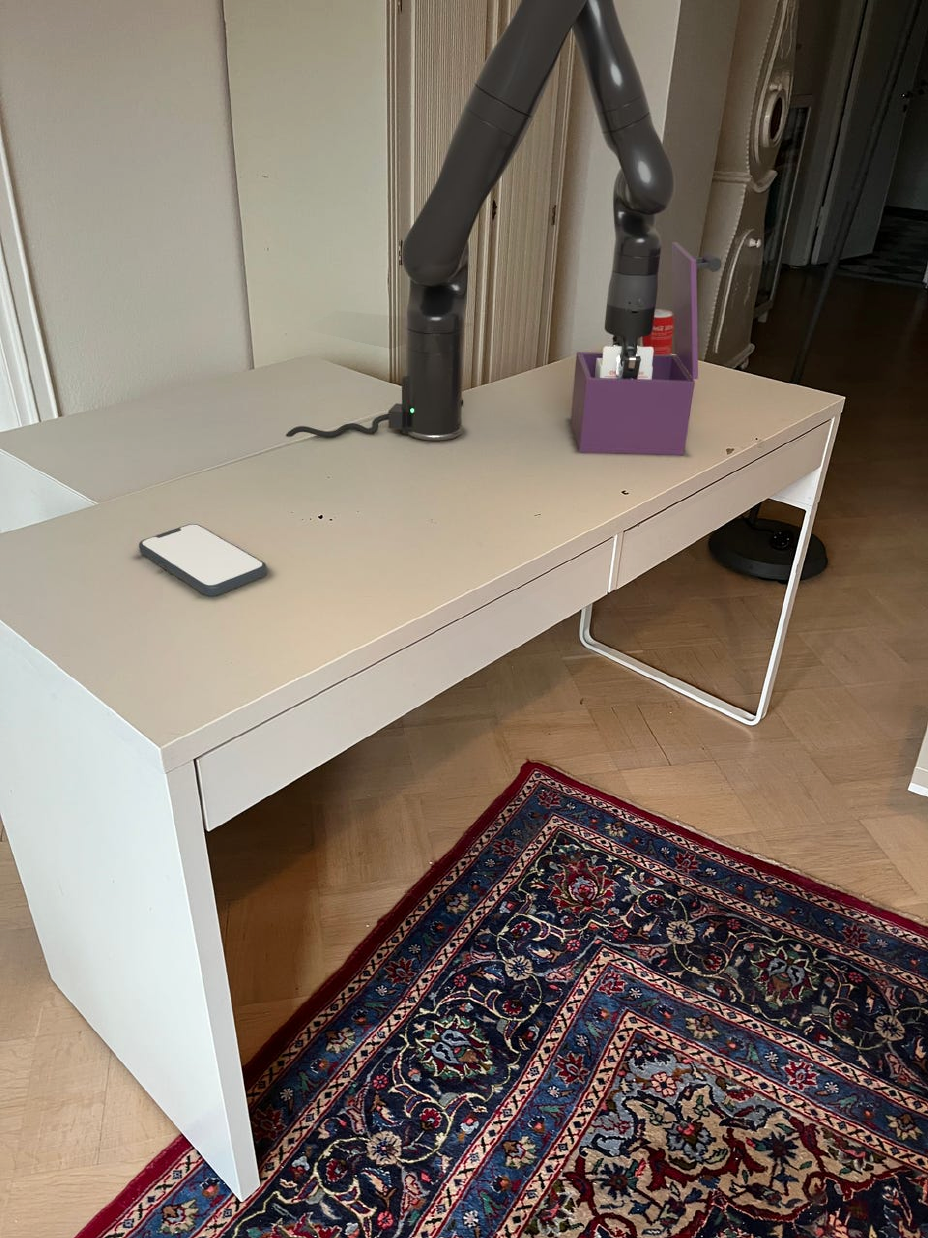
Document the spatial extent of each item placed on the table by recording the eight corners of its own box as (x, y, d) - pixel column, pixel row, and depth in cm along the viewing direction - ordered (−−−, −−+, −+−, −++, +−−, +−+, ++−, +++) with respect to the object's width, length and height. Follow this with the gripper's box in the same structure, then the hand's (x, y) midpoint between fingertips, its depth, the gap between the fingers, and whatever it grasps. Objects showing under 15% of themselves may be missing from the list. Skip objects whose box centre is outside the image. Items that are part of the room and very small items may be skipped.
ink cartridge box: (639, 426, 162) (650, 339, 154) (645, 437, 158) (656, 347, 150) (589, 426, 161) (597, 338, 154) (593, 436, 157) (602, 346, 150)
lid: (690, 260, 138) (729, 254, 138) (671, 242, 151) (707, 236, 151) (692, 379, 147) (729, 374, 147) (674, 352, 160) (708, 347, 160)
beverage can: (671, 391, 182) (682, 310, 175) (658, 399, 178) (669, 317, 170) (642, 385, 185) (652, 305, 177) (628, 393, 180) (638, 312, 173)
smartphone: (272, 576, 115) (197, 531, 125) (271, 564, 115) (195, 520, 124) (209, 601, 110) (135, 553, 119) (208, 589, 109) (133, 541, 118)
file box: (579, 452, 153) (586, 378, 147) (570, 420, 166) (576, 351, 160) (683, 455, 154) (695, 382, 147) (666, 422, 167) (676, 354, 161)
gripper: (601, 290, 155) (591, 393, 163) (613, 311, 142) (602, 421, 151) (648, 292, 155) (635, 395, 164) (663, 313, 143) (649, 423, 151)
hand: (619, 407), depth 157 cm, fingers closed on ink cartridge box, 5 cm apart
